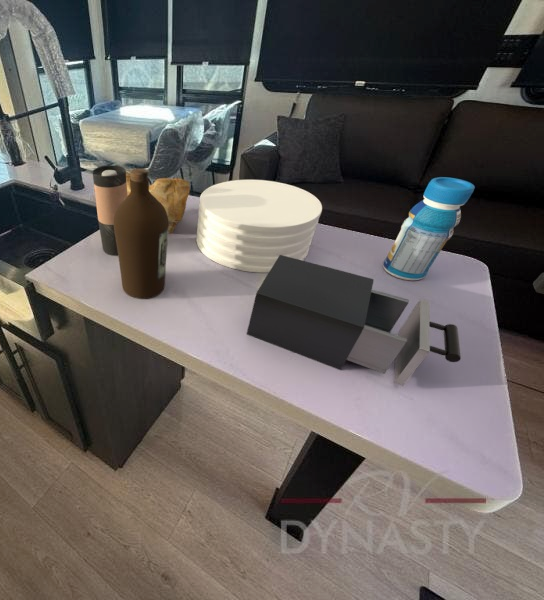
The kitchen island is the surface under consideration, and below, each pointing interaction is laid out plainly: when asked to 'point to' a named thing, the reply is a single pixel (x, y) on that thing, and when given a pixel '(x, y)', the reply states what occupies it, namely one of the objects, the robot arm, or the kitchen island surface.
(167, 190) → the crumpled paper bag
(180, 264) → the kitchen island surface
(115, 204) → the travel mug
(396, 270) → the beverage bottle
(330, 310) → the cabinet
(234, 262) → the plate stack
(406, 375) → the drawer
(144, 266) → the olive oil
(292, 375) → the kitchen island surface
